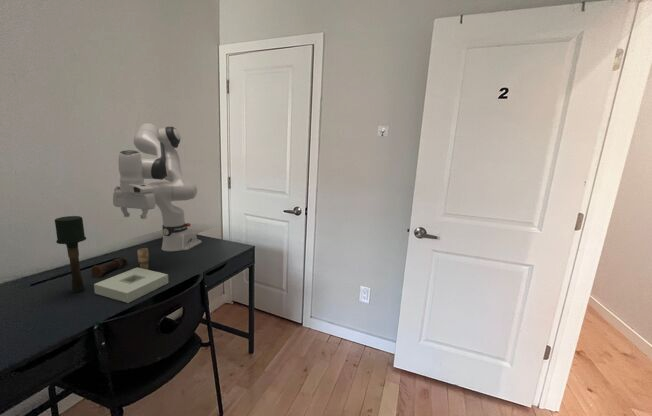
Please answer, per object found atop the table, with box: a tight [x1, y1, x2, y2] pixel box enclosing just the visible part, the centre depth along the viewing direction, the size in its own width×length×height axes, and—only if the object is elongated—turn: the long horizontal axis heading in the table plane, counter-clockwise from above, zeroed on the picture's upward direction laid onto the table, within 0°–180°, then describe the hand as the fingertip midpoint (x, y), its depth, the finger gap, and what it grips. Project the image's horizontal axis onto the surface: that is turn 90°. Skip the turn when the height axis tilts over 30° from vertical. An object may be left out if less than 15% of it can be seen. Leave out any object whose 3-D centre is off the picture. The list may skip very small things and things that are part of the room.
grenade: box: [54, 215, 87, 293], centre depth 109 cm, size 8×9×30 cm
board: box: [93, 267, 169, 304], centre depth 116 cm, size 18×18×4 cm
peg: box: [137, 247, 150, 270], centre depth 130 cm, size 4×4×11 cm
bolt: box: [91, 257, 128, 278], centre depth 131 cm, size 6×5×15 cm
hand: (135, 217), depth 127 cm, fingers open, 8 cm apart
